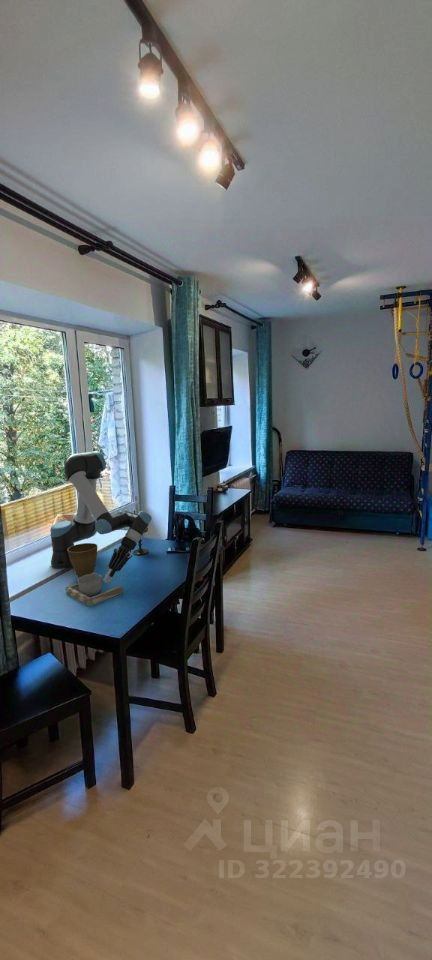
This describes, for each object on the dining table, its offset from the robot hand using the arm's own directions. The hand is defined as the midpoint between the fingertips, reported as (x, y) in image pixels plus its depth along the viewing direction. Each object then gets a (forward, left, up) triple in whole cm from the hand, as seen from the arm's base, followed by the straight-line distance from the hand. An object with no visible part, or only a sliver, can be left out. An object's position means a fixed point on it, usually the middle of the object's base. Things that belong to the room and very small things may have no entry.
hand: (105, 582), depth 217 cm
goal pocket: (0, -5, -3) cm, 6 cm away
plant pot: (-22, +2, -4) cm, 23 cm away
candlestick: (-28, +42, -4) cm, 51 cm away
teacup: (-2, -6, -4) cm, 8 cm away
